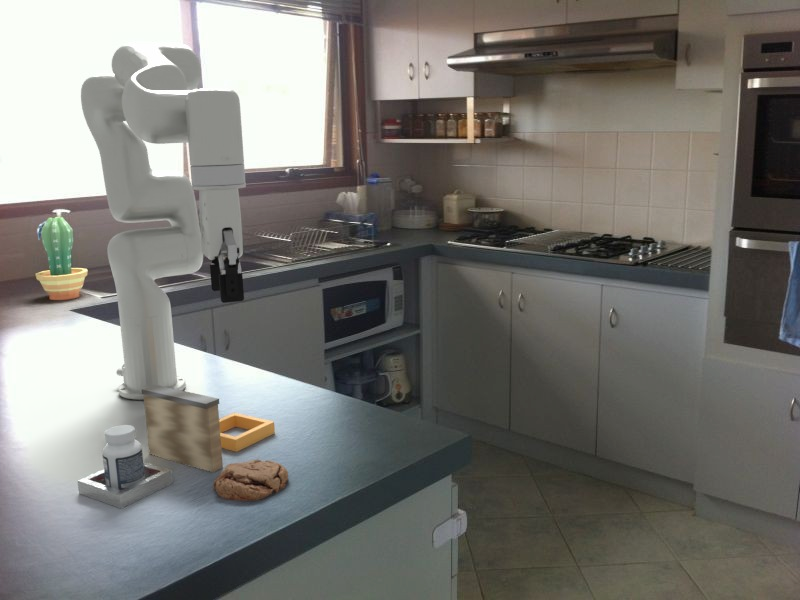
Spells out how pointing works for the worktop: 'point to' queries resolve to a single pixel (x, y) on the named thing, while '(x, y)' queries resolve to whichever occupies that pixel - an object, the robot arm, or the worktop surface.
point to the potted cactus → (59, 261)
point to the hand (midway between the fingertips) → (227, 295)
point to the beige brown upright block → (183, 427)
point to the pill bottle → (122, 457)
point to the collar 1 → (100, 491)
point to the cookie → (250, 480)
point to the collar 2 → (256, 432)
